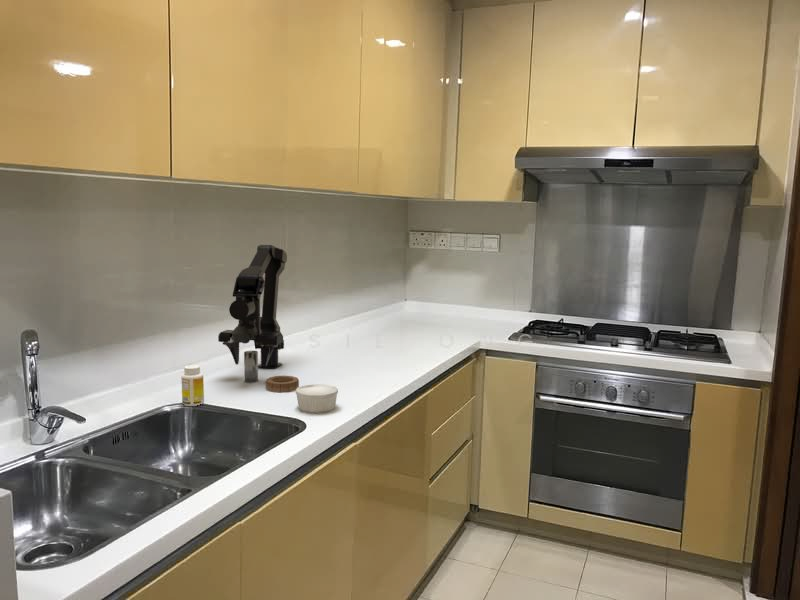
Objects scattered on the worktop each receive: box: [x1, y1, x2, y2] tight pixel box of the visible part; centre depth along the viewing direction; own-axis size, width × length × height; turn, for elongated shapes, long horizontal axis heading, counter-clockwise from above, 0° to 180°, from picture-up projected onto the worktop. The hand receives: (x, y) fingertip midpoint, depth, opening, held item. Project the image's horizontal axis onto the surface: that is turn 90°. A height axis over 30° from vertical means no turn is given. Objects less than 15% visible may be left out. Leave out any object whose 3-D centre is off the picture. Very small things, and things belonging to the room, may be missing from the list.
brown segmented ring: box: [265, 375, 300, 393], centre depth 193 cm, size 9×9×2 cm
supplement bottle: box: [181, 364, 205, 407], centre depth 176 cm, size 6×6×10 cm
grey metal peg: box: [243, 350, 259, 384], centre depth 200 cm, size 4×4×9 cm
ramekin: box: [295, 383, 339, 414], centre depth 175 cm, size 11×11×5 cm
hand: (251, 365), depth 200 cm, fingers open, 9 cm apart
